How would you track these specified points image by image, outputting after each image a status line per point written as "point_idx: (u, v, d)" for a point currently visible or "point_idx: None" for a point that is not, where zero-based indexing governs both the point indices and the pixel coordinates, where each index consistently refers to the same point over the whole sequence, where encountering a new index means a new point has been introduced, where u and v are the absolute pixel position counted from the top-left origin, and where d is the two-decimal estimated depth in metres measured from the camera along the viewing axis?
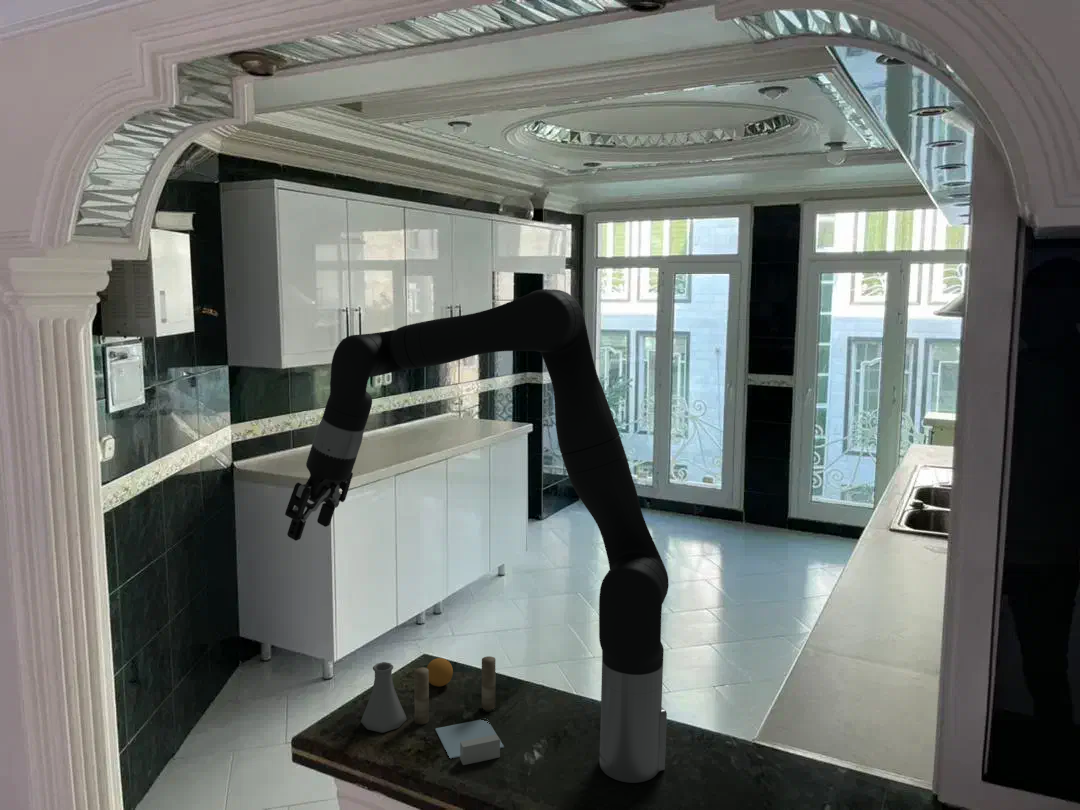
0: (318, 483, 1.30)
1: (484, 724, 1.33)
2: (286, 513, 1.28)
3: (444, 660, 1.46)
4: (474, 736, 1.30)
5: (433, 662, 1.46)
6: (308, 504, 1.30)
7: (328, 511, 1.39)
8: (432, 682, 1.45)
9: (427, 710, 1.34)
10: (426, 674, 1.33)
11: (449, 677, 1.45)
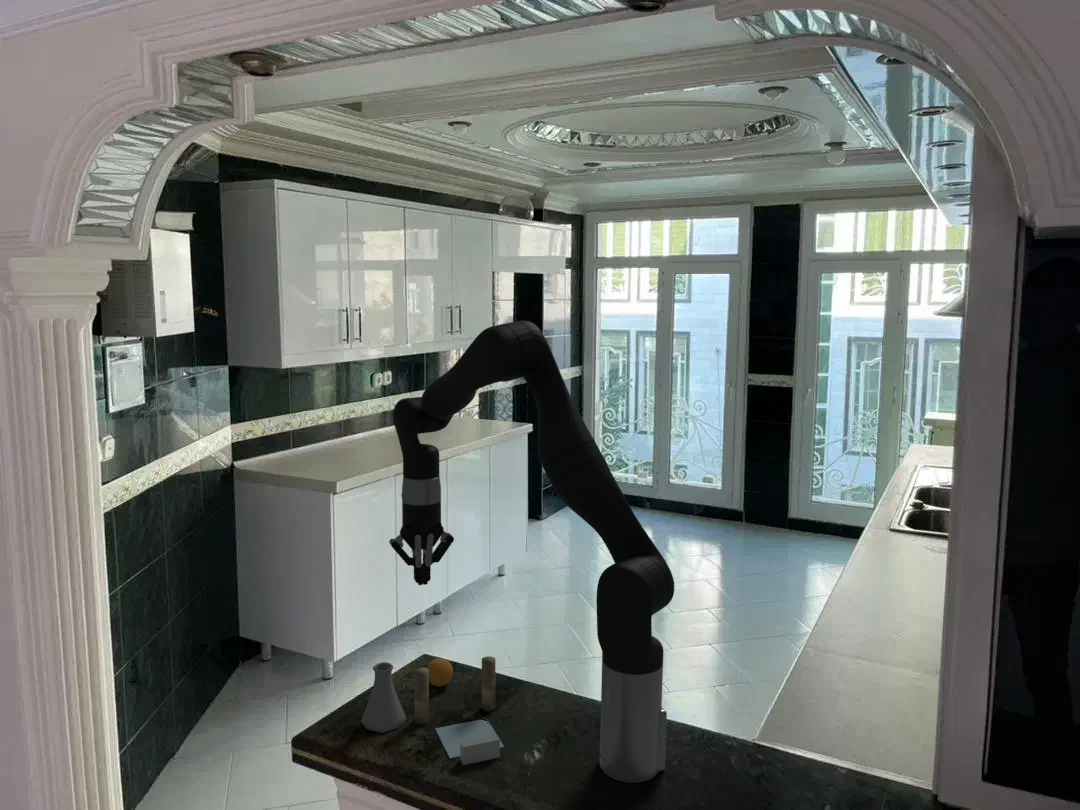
0: (404, 529, 1.53)
1: (484, 724, 1.33)
2: None
3: (444, 660, 1.46)
4: (474, 736, 1.30)
5: (433, 662, 1.46)
6: (414, 553, 1.55)
7: (423, 570, 1.56)
8: (432, 682, 1.45)
9: (427, 710, 1.34)
10: (426, 674, 1.33)
11: (449, 677, 1.45)
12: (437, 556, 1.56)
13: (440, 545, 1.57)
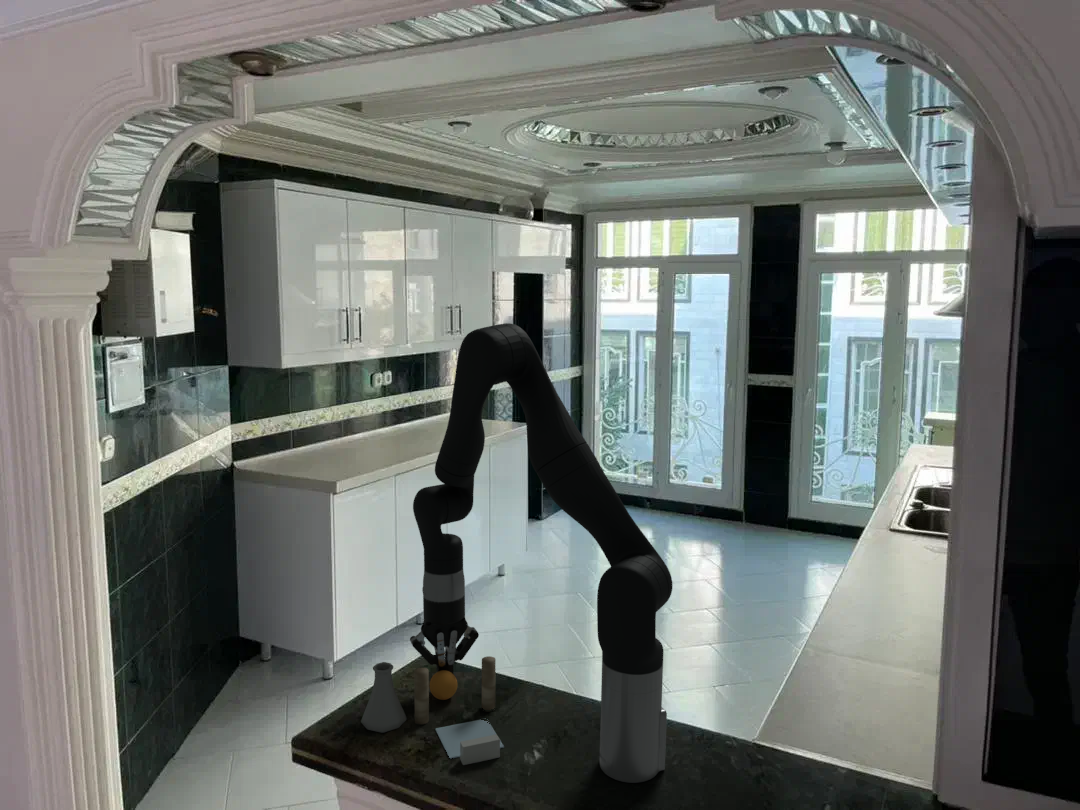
0: (426, 626, 1.42)
1: (484, 724, 1.33)
2: None
3: (450, 693, 1.40)
4: (474, 736, 1.30)
5: (439, 694, 1.40)
6: (436, 651, 1.44)
7: None
8: None
9: (427, 710, 1.34)
10: (426, 674, 1.33)
11: None
12: (460, 653, 1.45)
13: (464, 641, 1.46)
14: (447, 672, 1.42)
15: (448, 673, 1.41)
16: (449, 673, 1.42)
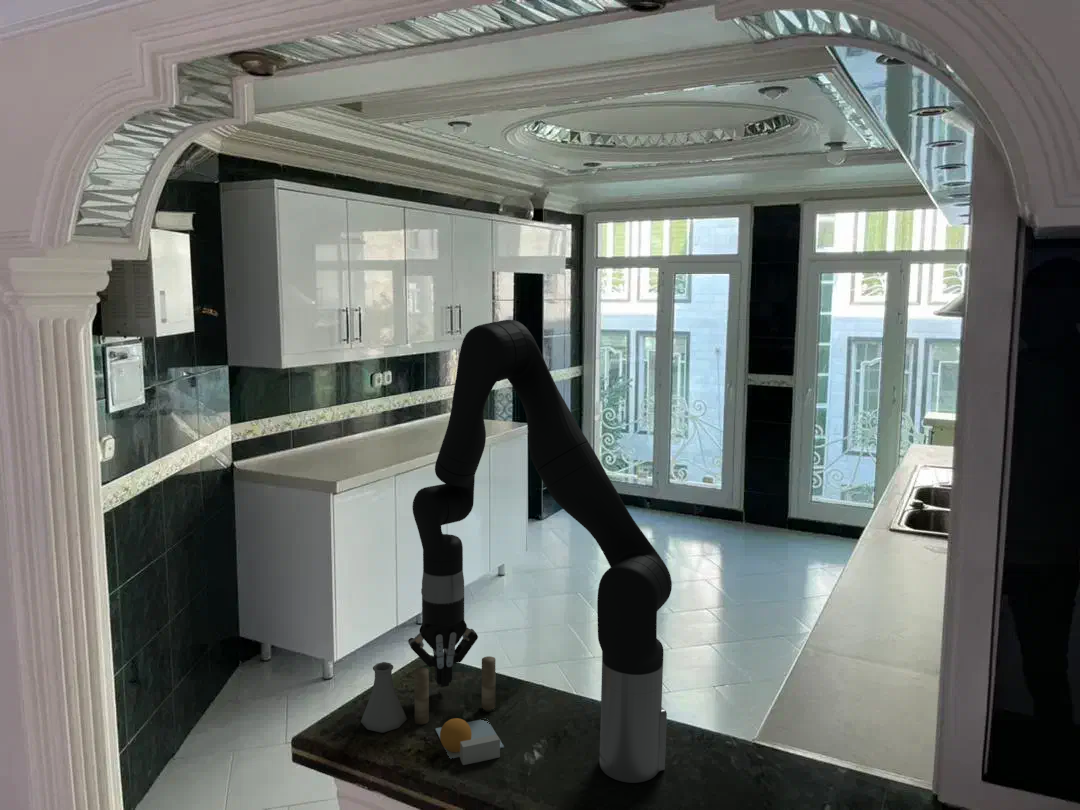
0: (424, 628, 1.40)
1: (484, 724, 1.33)
2: None
3: None
4: (474, 736, 1.30)
5: (451, 750, 1.24)
6: (435, 653, 1.42)
7: None
8: None
9: (427, 710, 1.34)
10: (426, 674, 1.33)
11: None
12: (459, 655, 1.43)
13: (462, 643, 1.45)
14: (460, 725, 1.25)
15: (462, 727, 1.25)
16: (462, 726, 1.25)
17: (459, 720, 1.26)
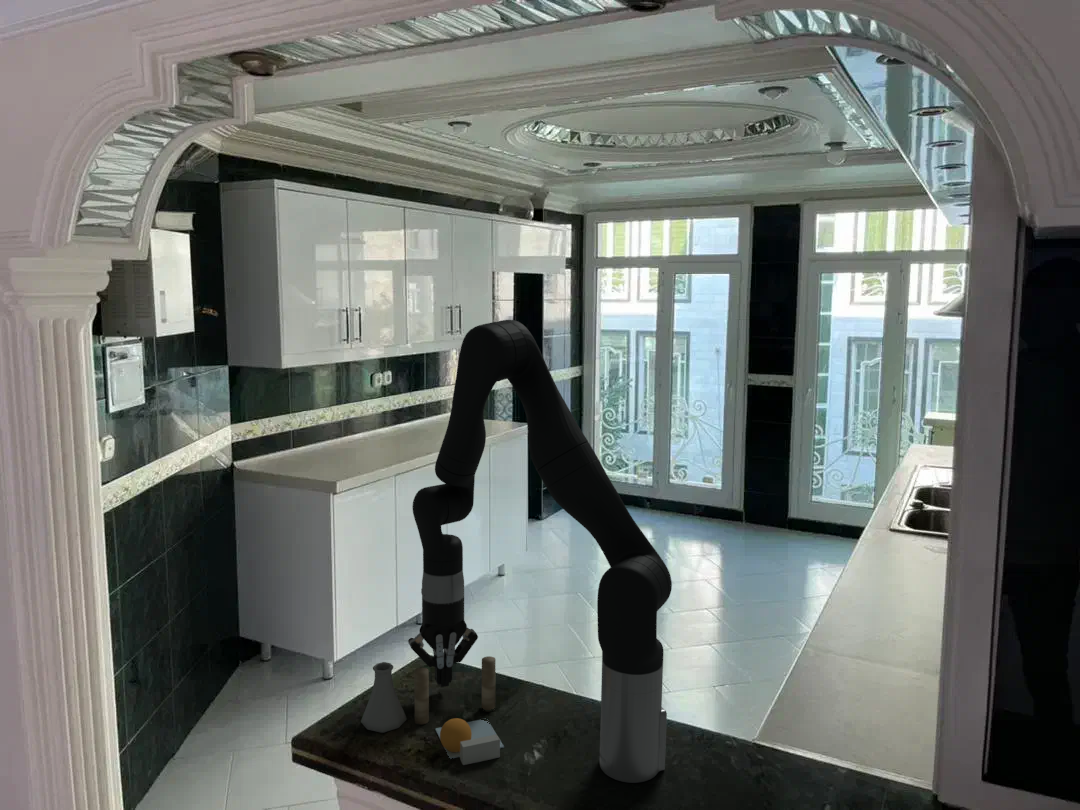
0: (424, 628, 1.40)
1: (484, 724, 1.33)
2: None
3: None
4: (474, 736, 1.30)
5: (451, 750, 1.24)
6: (435, 653, 1.42)
7: None
8: None
9: (427, 710, 1.34)
10: (426, 674, 1.33)
11: None
12: (459, 655, 1.43)
13: (462, 643, 1.45)
14: (460, 725, 1.25)
15: (462, 727, 1.25)
16: (462, 726, 1.25)
17: (459, 720, 1.26)
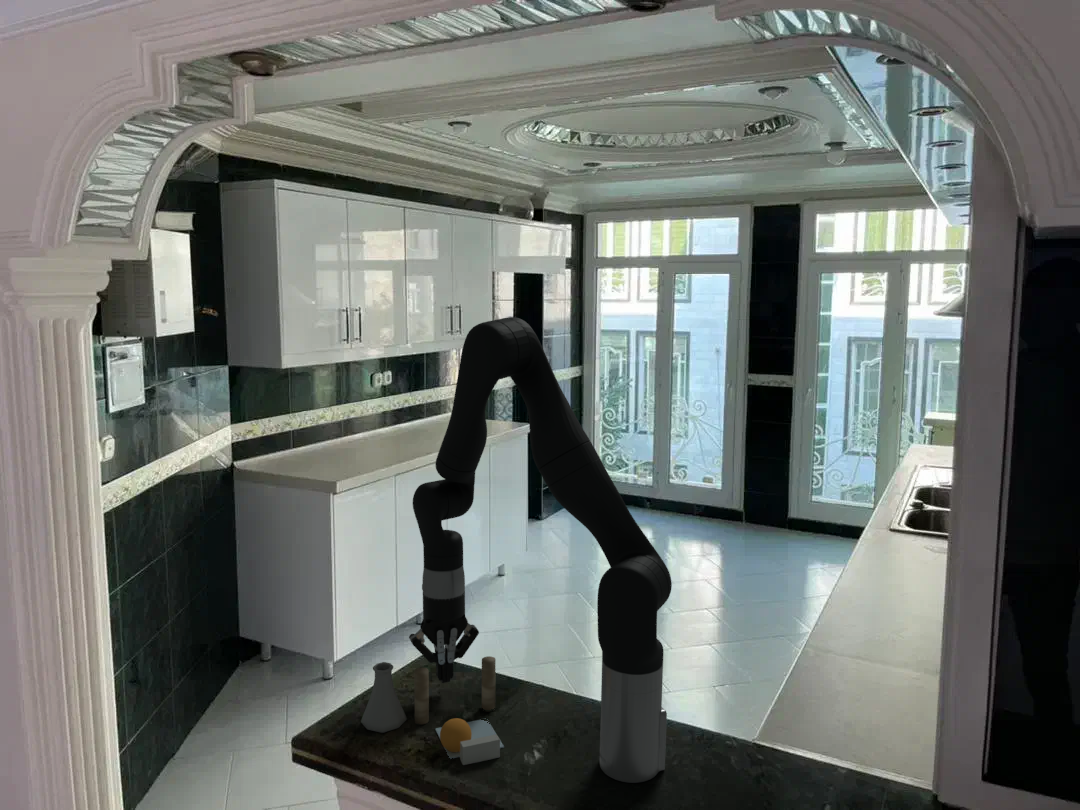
0: (425, 624, 1.40)
1: (484, 724, 1.33)
2: None
3: None
4: (474, 736, 1.30)
5: (451, 750, 1.24)
6: (436, 649, 1.42)
7: None
8: None
9: (427, 710, 1.34)
10: (426, 674, 1.33)
11: None
12: (460, 651, 1.43)
13: (463, 638, 1.44)
14: (460, 725, 1.25)
15: (462, 727, 1.25)
16: (462, 726, 1.25)
17: (459, 720, 1.26)
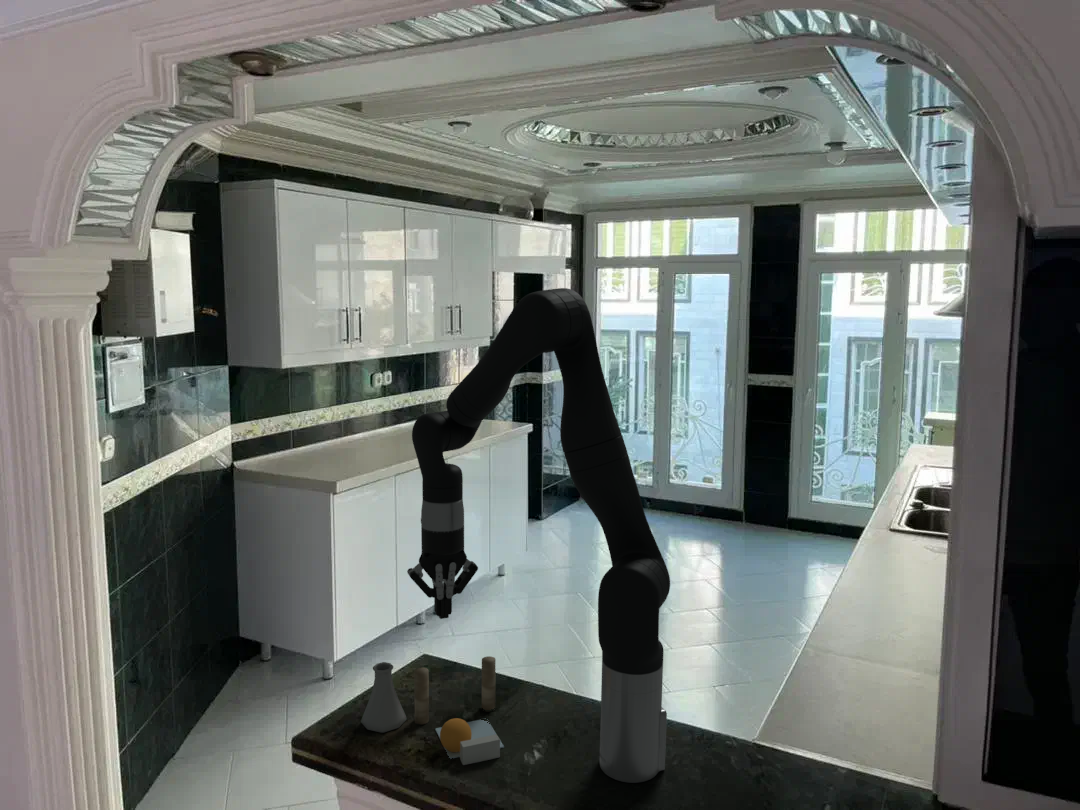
0: (424, 557, 1.38)
1: (484, 724, 1.33)
2: None
3: None
4: (474, 736, 1.30)
5: (451, 750, 1.24)
6: (435, 583, 1.40)
7: None
8: None
9: (427, 710, 1.34)
10: (426, 674, 1.33)
11: None
12: (459, 587, 1.41)
13: (462, 574, 1.43)
14: (460, 725, 1.25)
15: (462, 727, 1.25)
16: (462, 726, 1.25)
17: (459, 720, 1.26)
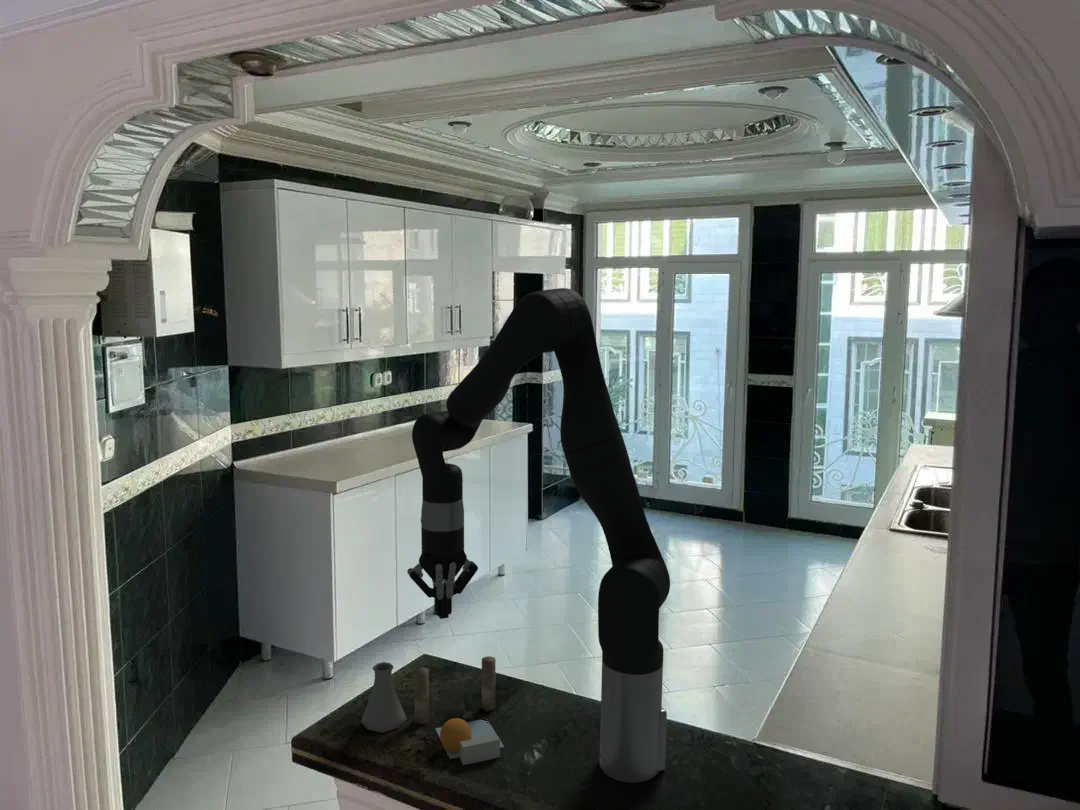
0: (424, 557, 1.38)
1: (484, 724, 1.33)
2: None
3: None
4: (474, 736, 1.30)
5: (451, 750, 1.24)
6: (435, 583, 1.40)
7: None
8: None
9: (427, 710, 1.34)
10: (426, 674, 1.33)
11: None
12: (459, 587, 1.41)
13: (462, 574, 1.43)
14: (460, 725, 1.25)
15: (462, 727, 1.25)
16: (462, 726, 1.25)
17: (459, 720, 1.26)
